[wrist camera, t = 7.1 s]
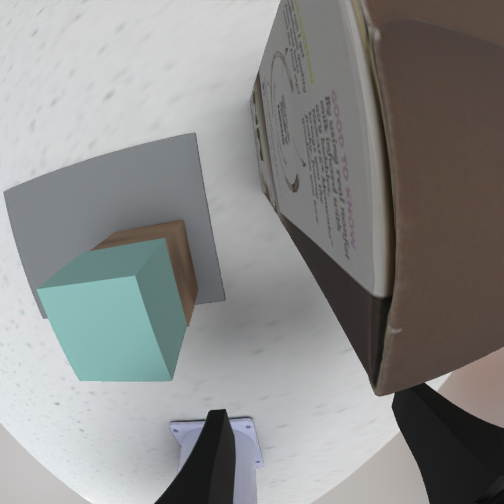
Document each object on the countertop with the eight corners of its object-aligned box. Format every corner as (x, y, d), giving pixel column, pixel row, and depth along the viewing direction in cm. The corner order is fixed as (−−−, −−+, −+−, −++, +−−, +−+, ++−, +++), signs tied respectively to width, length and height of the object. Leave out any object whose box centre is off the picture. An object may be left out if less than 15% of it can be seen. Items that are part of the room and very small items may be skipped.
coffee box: (262, 198, 18) (353, 415, 3) (248, 95, 16) (289, -120, 1) (396, 184, 18) (615, 279, 3) (387, 91, 16) (611, 51, 1)
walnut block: (198, 289, 20) (188, 326, 16) (133, 297, 20) (111, 332, 16) (183, 219, 18) (166, 240, 14) (114, 231, 18) (84, 255, 14)
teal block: (187, 323, 16) (172, 380, 11) (109, 330, 16) (79, 380, 11) (165, 237, 14) (135, 275, 10) (82, 252, 14) (36, 289, 10)
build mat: (225, 298, 20) (225, 300, 20) (44, 317, 21) (43, 318, 20) (195, 133, 17) (194, 132, 17) (5, 191, 17) (3, 191, 17)
